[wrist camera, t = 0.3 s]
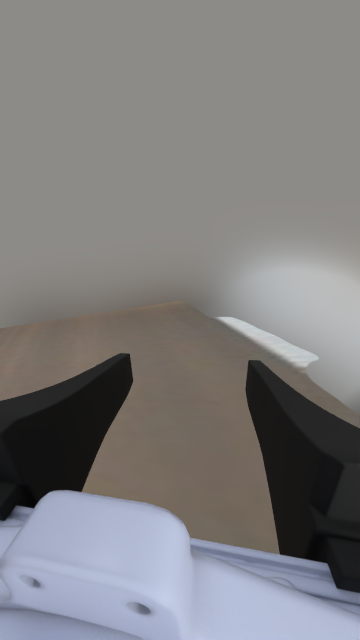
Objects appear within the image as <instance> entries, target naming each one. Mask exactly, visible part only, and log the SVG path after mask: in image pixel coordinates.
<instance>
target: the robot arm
mask: <svg viewBox="0 0 360 640" xmlns="http://www.w3.org/2000/svg"><path fill="white" fill-rule="evenodd" d="M132 383H133V376H132V368H131V360H130V354H124V353H120V354H118V355H116V356H114V357H112V358H110V359H108V360H106V361H104V362H102V363H101V364H99V365H97V366H95V367H93V368H91V369H89V370H87V371H85V372H83V373H81V374H79V375H77V376H75V377H73V378H71V379H68V380H66V381H63V382H61V383H59V384H56V385H53V386H50V387H47V388H44V389H42V390H39V391H36V392H33V393H29V394H26V395H22V396H19V397H15V398H11V399H7V400H3V401H0V640H360V428H358V427H355V426H353V425H352V424H350V423H348V422H346V421H344V420H342V419H340V418H338V417H336V416H335V415H333V414H331V413H329V412H327V411H326V410H324V409H322V408H321V407H319V406H318V405H316V404H314V403H313V402H311V401H310V400H308V399H307V398H305V397H304V396H302V395H301V394H300V393H298V392H297V391H296V390H294V389H293V388H292V387H290V386H289V385H288V384H286V383H285V382H284V381H283V380H281V379H280V378H279V377H278V376H277V375H276V374H274V373H273V372H272V371H271V370H270V369H269V368H268V367H267V366H265V365H264V364H263V363H262V362H261V361H257V360H249V362H248V371H247V380H246V396H247V402H248V407H249V410H250V414H251V417H252V420H253V424H254V427H255V430H256V434H257V437H258V440H259V444H260V447H261V451H262V455H263V460H264V465H265V470H266V475H267V481H268V486H269V492H270V497H271V503H272V509H273V514H274V520H275V526H276V532H277V539H278V545H279V551H280V555H279V554H274V553H269V552H263V551H258V550H253V549H247V548H242V547H237V546H231V545H226V544H220V543H215V542H210V541H204V540H199V539H194V538H190V536H189V534H188V532H187V529H186V527H185V525H184V523H183V522H182V520H181V519H179V518H178V517H177V516H175V515H174V514H173V513H172V512H170V511H169V510H167V509H164V508H161V507H158V506H155V505H152V504H149V503H143V502H137V501H131V500H125V499H119V498H113V497H107V496H101V495H95V494H89V493H83V492H82V489H83V487H84V484H85V482H86V479H87V477H88V474H89V471H90V469H91V467H92V464H93V462H94V460H95V457H96V455H97V452H98V450H99V448H100V446H101V444H102V441H103V439H104V437H105V435H106V433H107V431H108V429H109V427H110V425H111V424H112V422H113V420H114V418H115V417H116V415H117V413H118V411H119V410H120V408H121V406H122V404H123V403H124V401H125V399H126V397H127V395H128V393H129V391H130V388H131V386H132Z"/></svg>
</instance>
